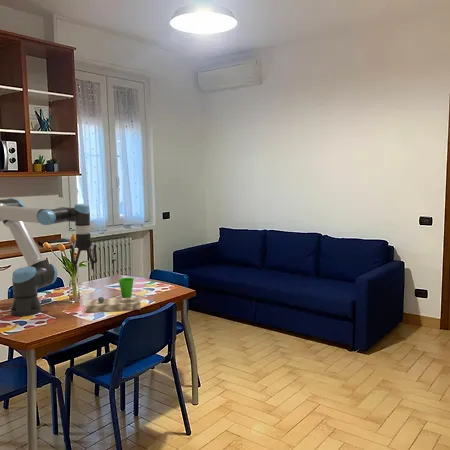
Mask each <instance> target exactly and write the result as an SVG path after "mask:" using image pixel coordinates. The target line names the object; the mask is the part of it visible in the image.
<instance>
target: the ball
mask: <svg viewBox="0 0 450 450" xmlns="http://www.w3.org/2000/svg"><path fill="white" fill-rule="evenodd" d="M104 299H105V298H104V297H103V296H99V297H98V302H99V303H103V302H104Z"/></svg>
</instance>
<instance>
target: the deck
mask: <svg viewBox="0 0 450 450" xmlns="http://www.w3.org/2000/svg"><path fill="white" fill-rule="evenodd" d="M141 307H142V306H141V296H139V297H137V296H136V297H131V298H122V297H120V298H118V297H116V298H104V302H103V303H99V302H98V299H88V301H87V305H86V312H87V313H101V312H115V311H116V312H119V311H120V310H122V311H134V310H135V311H138V310H141Z"/></svg>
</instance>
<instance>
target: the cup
mask: <svg viewBox="0 0 450 450" xmlns="http://www.w3.org/2000/svg"><path fill="white" fill-rule="evenodd" d="M134 280H135V278H133V277H122V278H119V279H118V283H119V287H120V288H119V289H120V293H121V298H132V293H133V286H134Z"/></svg>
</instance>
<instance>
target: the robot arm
mask: <svg viewBox="0 0 450 450" xmlns="http://www.w3.org/2000/svg"><path fill="white" fill-rule="evenodd" d="M90 213H91V211H90V206H89V204H87V203H76V204H74V207H67V206H65V207H64V206H60V207H59V206H58V207H56V208H52V209H50V208H48V209H47V208H39V207H38V208H37V207H27V206H25V204H24V203H23V202H22V201H21V200H20V199H18V198H3V199H0V222H2V223H3V225H4V226H5V227H8V228H9V231H10V233H11V235H12V236H13V239H14V240H15V242H16V244H17V246H18V248H19V250H20V252H21V254H22V256H23V258H24V260H25V262H26V264H27V266H24V267H23V266H22V267H19V268H16V269H15V270H14V271H13V272H12V291H13V300H12V304H11V307H10V314H11V316H16V317H28V316H32V315H36V314H38V313H41V312H42V305H41V301H40V300H39V297H38V290H40V289H41V288H45V287H48V286H50V285H53V284H54V283H55V282H56V281H57V277H58V269H57V266H55V265H54V264H53V263H49V260H48V259H47V258H44V257H43V256H42V253H41V252H40V250H39V249H40V248H38V245H37V243H36V241H35V240H34V238H33V236H32V234H31V232H30V230H29V228H28V226H27V224H26V223H25V222H27V223H35V224H40V225H43V226H50V225H54V224H60V223H61V224H62V223H65V222H69V223H71V222H73V223H75V233H76V234H75V243H73V244H70V246H69V247H70V253H71V254H70V264H73V265H74V271H76V277H78V278H79V276H80V263H78V261H79V258H80V255H81V252H82V251H84V252H85V251H86V253H87V256H88V259H89V260H90V263H89V274H90V277H93V270H94V269H95V264H96V263H98V255H97V254H98V253H97V246H98V245H97V243H92V239H91V238H92V237H91V236H92V235H91V220H90V219H91V215H90ZM76 248H77V253H76V257H75V249H76ZM90 248H93V256H92V253H91V250H90Z"/></svg>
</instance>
